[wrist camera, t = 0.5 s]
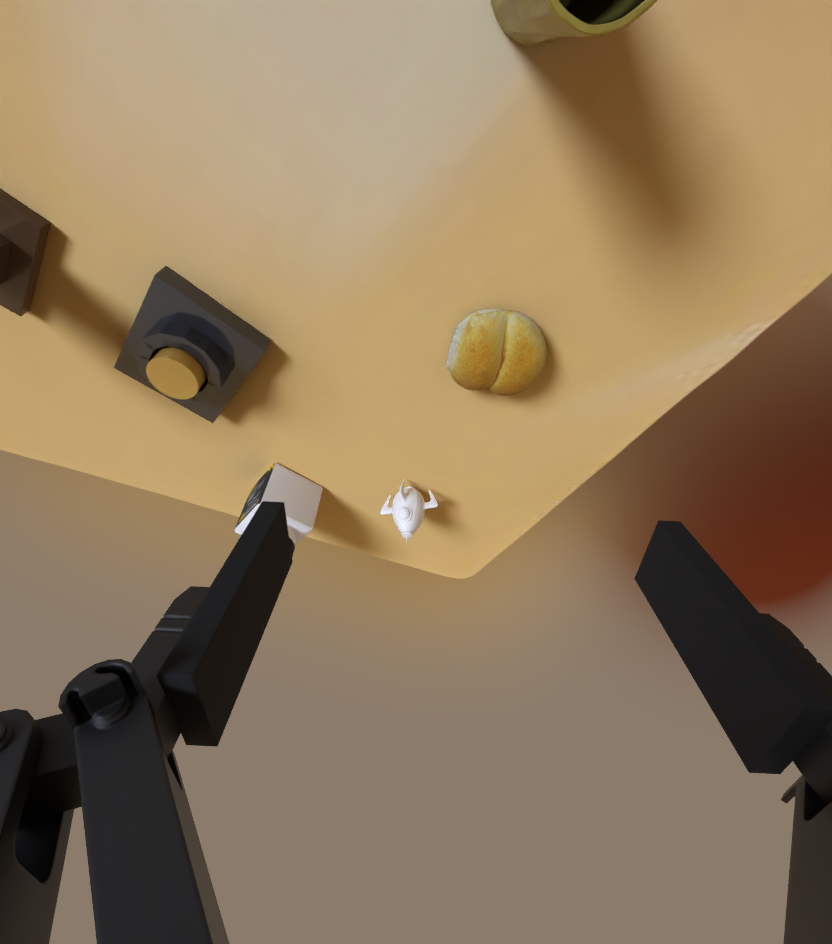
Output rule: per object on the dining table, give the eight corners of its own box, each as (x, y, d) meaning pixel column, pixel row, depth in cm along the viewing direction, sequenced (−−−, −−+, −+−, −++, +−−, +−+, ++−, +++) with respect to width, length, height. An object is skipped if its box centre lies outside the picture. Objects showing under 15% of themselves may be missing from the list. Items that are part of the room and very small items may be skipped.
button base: (165, 265, 36) (142, 284, 33) (271, 340, 40) (259, 362, 38) (124, 356, 42) (102, 379, 39) (219, 411, 47) (205, 435, 44)
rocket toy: (401, 471, 53) (397, 521, 47) (438, 486, 55) (438, 537, 49) (382, 495, 56) (376, 544, 51) (417, 509, 58) (415, 558, 52)
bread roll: (524, 391, 43) (530, 415, 41) (440, 373, 42) (440, 397, 40) (560, 316, 38) (570, 338, 35) (464, 294, 36) (466, 315, 34)
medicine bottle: (274, 460, 52) (244, 541, 44) (324, 486, 55) (304, 566, 47) (250, 488, 56) (218, 567, 48) (298, 511, 59) (275, 589, 51)
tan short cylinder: (164, 337, 37) (155, 348, 35) (213, 368, 39) (206, 378, 37) (148, 369, 39) (139, 380, 38) (195, 396, 41) (187, 407, 40)
